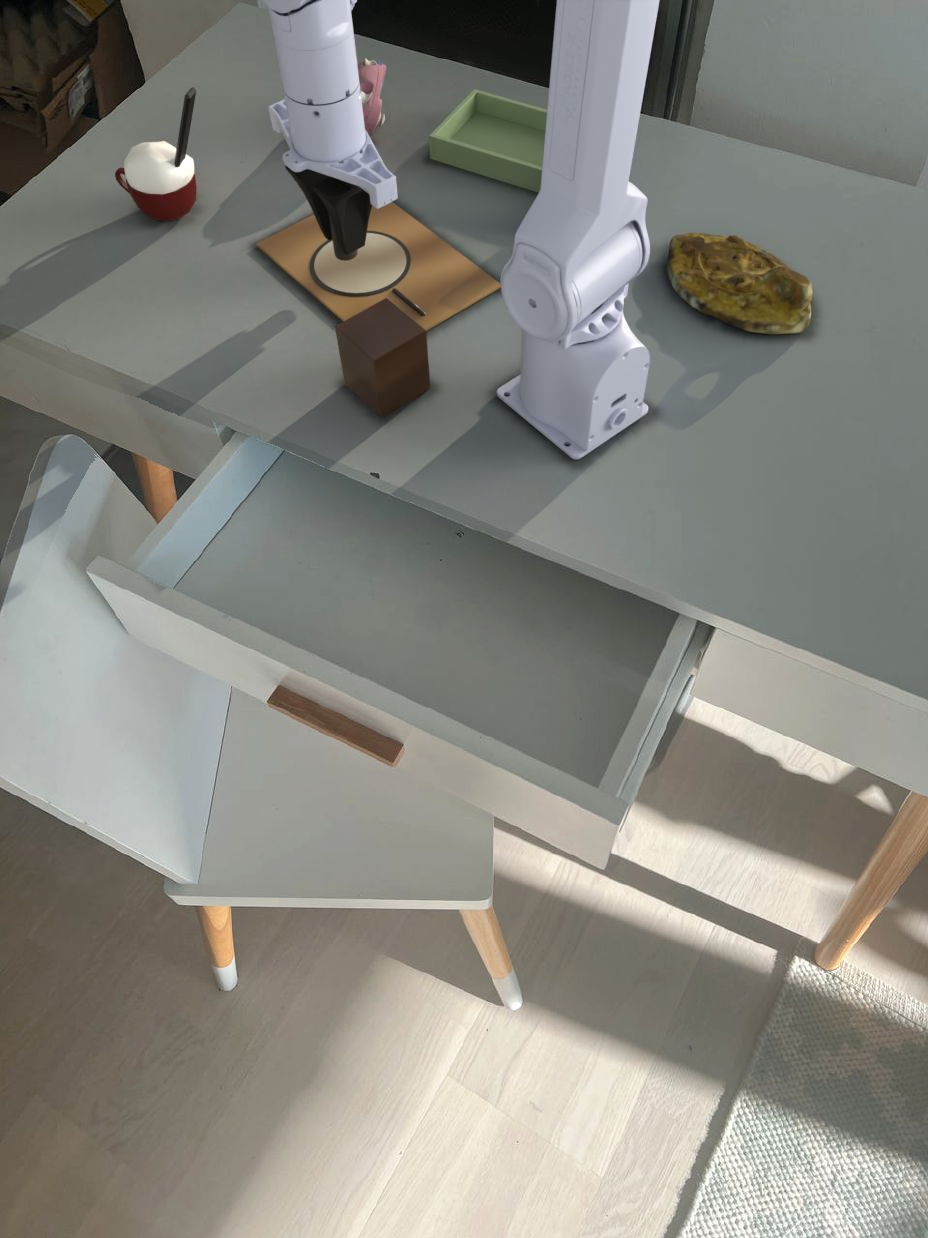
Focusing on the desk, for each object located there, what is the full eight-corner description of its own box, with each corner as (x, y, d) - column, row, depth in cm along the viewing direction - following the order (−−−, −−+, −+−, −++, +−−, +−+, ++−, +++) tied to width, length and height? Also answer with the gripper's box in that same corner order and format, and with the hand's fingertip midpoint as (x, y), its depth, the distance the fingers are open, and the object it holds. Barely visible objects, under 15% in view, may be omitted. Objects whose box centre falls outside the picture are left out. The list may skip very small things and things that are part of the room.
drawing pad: (501, 287, 87) (501, 281, 87) (382, 356, 83) (382, 351, 82) (370, 187, 95) (370, 182, 95) (256, 246, 91) (255, 241, 90)
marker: (363, 253, 87) (354, 191, 82) (343, 264, 86) (333, 202, 81) (348, 242, 88) (339, 180, 83) (329, 252, 87) (319, 190, 82)
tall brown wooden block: (430, 388, 81) (426, 329, 76) (381, 418, 79) (373, 360, 74) (393, 355, 83) (386, 296, 78) (344, 384, 81) (334, 326, 76)
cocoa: (115, 210, 94) (69, 84, 84) (163, 177, 97) (125, 51, 87) (186, 247, 91) (147, 121, 81) (234, 212, 94) (202, 85, 84)
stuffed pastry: (633, 283, 88) (773, 365, 82) (635, 240, 84) (782, 322, 78) (701, 224, 91) (842, 300, 85) (706, 180, 87) (855, 256, 81)
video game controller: (365, 172, 99) (392, 110, 94) (321, 153, 97) (346, 89, 92) (372, 115, 104) (397, 54, 99) (330, 96, 103) (353, 33, 97)
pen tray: (609, 151, 97) (611, 127, 95) (568, 202, 93) (570, 178, 91) (474, 111, 102) (474, 88, 100) (429, 158, 97) (428, 135, 95)
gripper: (223, 65, 76) (259, 220, 88) (334, 147, 70) (357, 303, 81) (299, 31, 79) (324, 188, 90) (413, 109, 72) (424, 266, 84)
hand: (344, 240), depth 86 cm, fingers closed on marker, 2 cm apart
